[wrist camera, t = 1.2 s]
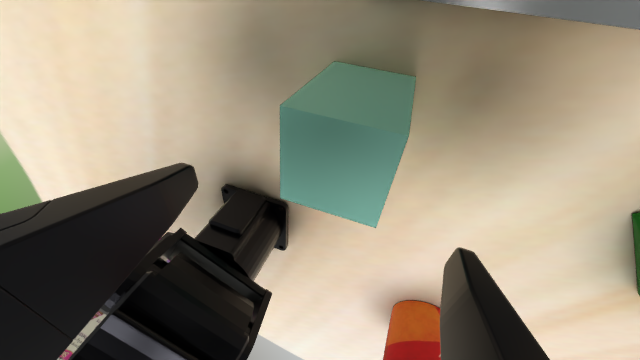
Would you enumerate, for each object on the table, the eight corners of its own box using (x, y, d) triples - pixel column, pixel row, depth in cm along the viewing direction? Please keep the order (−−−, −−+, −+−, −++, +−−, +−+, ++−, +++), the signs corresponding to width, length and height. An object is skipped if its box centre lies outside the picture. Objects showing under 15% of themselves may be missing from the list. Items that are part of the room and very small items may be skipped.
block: (392, 149, 16) (375, 228, 11) (325, 132, 17) (280, 198, 12) (416, 76, 13) (408, 135, 8) (334, 61, 14) (279, 105, 9)
